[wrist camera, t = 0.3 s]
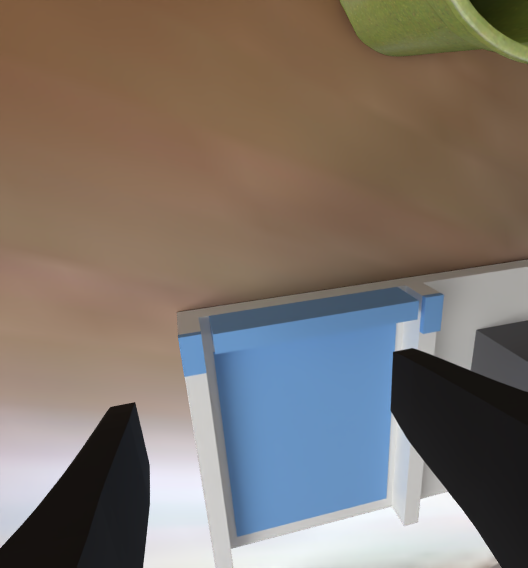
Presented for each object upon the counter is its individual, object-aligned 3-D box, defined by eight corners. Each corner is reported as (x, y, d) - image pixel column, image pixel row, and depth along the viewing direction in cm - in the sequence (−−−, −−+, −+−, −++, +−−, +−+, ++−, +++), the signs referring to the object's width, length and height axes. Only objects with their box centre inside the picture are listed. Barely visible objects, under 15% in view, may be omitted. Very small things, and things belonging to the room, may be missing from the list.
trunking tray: (542, 453, 30) (579, 485, 28) (212, 538, 26) (218, 586, 23) (589, 250, 25) (642, 264, 22) (176, 312, 20) (178, 340, 17)
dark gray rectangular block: (505, 439, 27) (565, 493, 23) (459, 450, 27) (513, 507, 23) (527, 320, 24) (601, 358, 20) (476, 329, 23) (542, 370, 19)
